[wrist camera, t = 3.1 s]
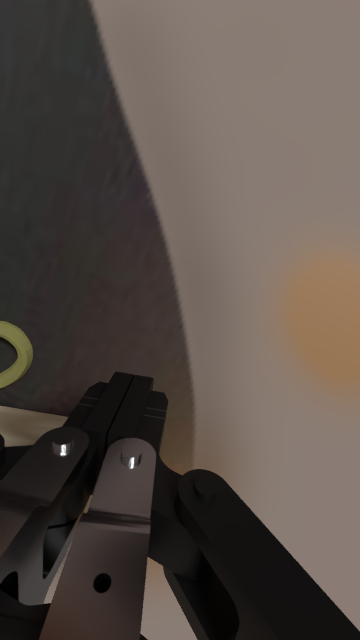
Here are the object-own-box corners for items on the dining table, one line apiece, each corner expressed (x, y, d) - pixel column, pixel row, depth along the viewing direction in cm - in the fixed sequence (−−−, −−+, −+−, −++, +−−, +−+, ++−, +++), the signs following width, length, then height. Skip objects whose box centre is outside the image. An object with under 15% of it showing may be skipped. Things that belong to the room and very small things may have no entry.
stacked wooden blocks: (-15, 454, 22) (-152, 604, 14) (-18, 390, 21) (-179, 514, 12) (125, 478, 22) (77, 644, 13) (133, 416, 20) (84, 559, 12)
